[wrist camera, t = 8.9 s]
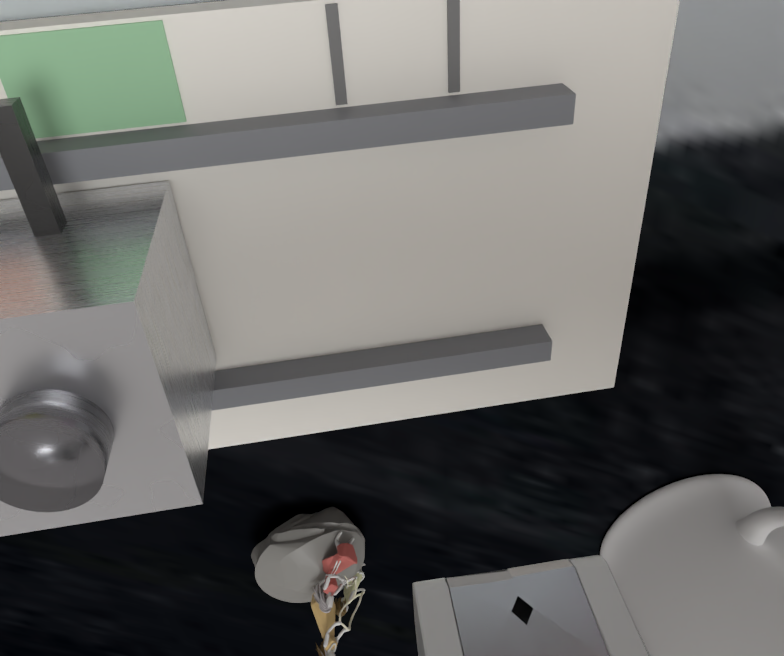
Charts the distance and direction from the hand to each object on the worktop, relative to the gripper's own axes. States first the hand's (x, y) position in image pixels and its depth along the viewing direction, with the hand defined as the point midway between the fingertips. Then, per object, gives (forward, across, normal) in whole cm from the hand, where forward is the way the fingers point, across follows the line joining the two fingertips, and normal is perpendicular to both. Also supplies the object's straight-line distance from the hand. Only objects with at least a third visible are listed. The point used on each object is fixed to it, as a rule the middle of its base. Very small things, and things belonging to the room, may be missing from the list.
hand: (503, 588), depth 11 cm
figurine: (+13, +4, +14) cm, 20 cm away
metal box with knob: (+12, +9, -1) cm, 14 cm away
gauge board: (+13, +4, 0) cm, 14 cm away
